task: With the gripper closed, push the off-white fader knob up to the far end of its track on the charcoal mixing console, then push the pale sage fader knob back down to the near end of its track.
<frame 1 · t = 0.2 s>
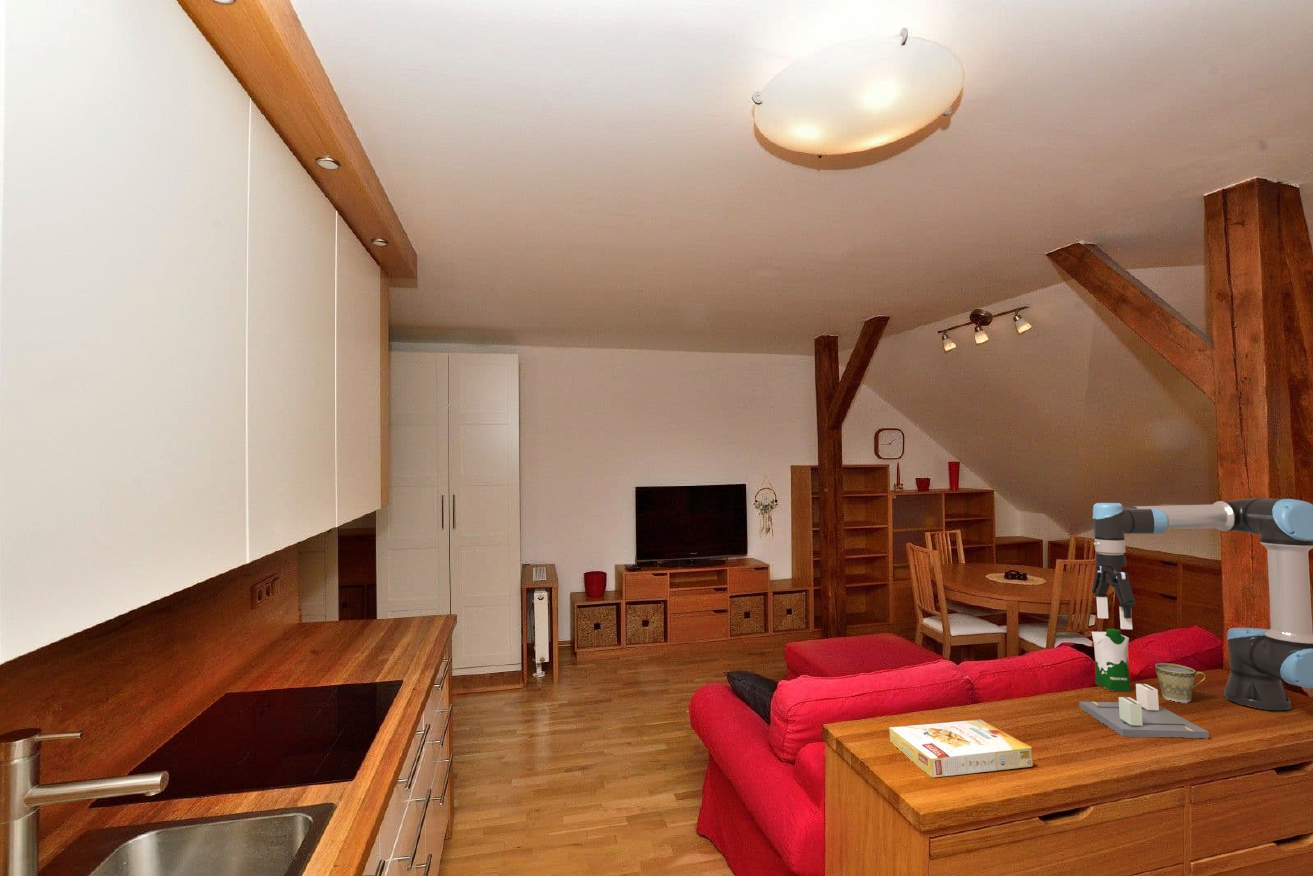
hand: (1114, 623, 188), 27 cm above the table, tool pointing down, fingers open, 13 cm apart
ceramic cup: (1182, 700, 197), on the table
cereal box: (958, 757, 161), on the table
console: (1140, 722, 180), on the table
milk carton: (1112, 688, 209), on the table
fader a: (1147, 696, 186), point 5 cm above the table, slide at -6.0 cm
fader b: (1130, 710, 175), point 5 cm above the table, slide at 6.0 cm
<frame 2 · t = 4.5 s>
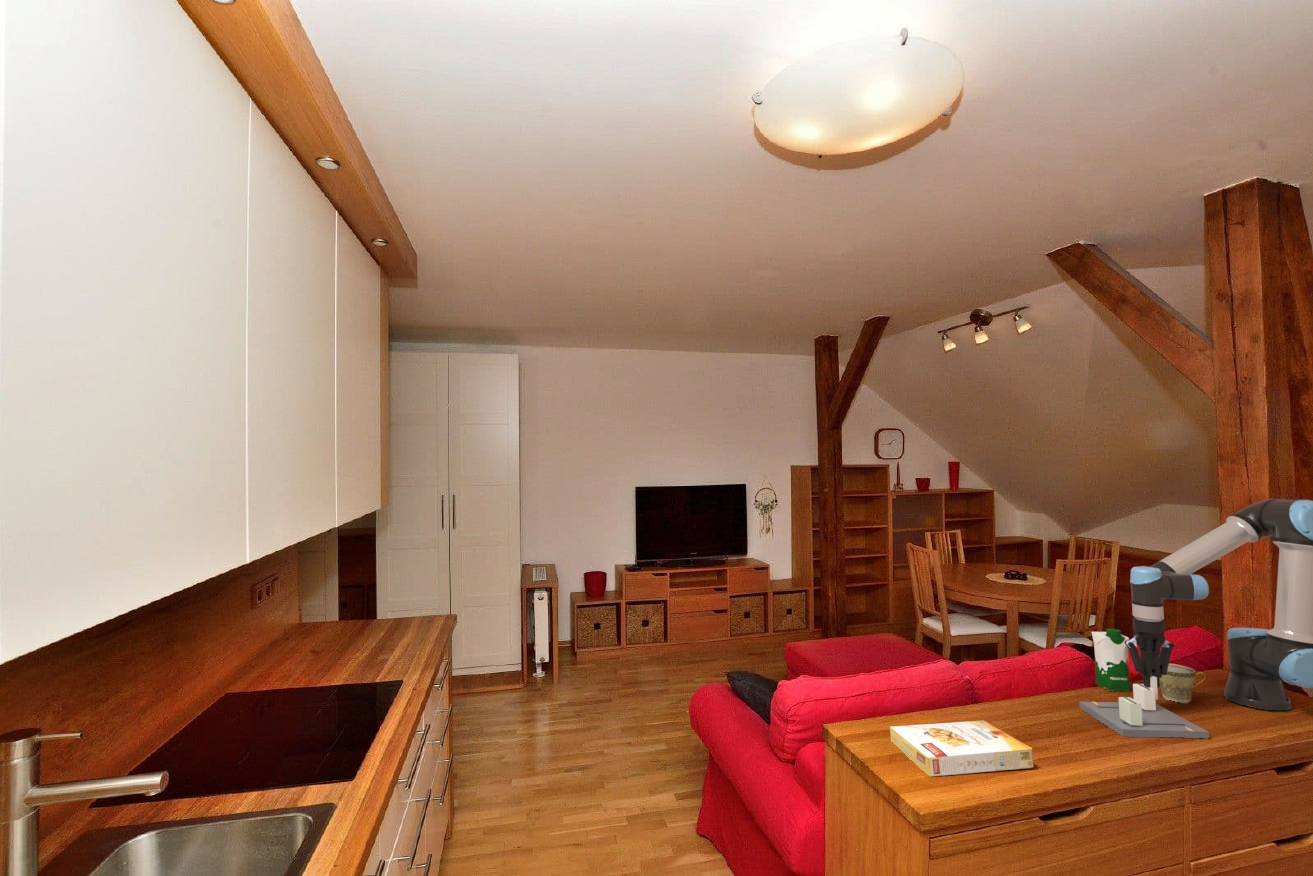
hand: (1152, 697, 186), 5 cm above the table, tool pointing down, fingers closed
fader a: (1144, 696, 186), point 5 cm above the table, slide at -5.2 cm, touching gripper
everything else where it was.
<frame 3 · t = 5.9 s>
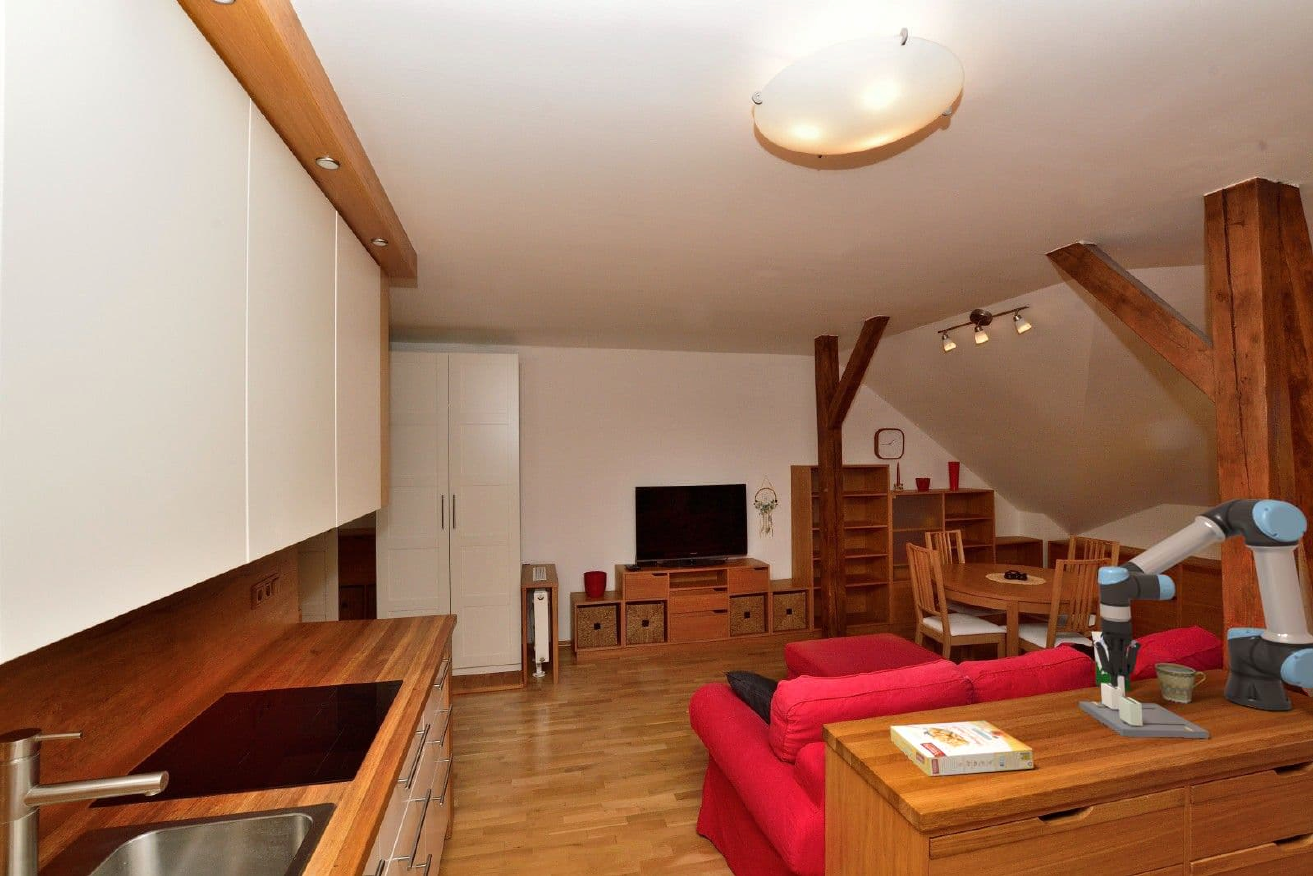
hand: (1119, 697, 187), 5 cm above the table, tool pointing down, fingers closed
fader a: (1111, 695, 187), point 5 cm above the table, slide at 4.0 cm, touching gripper
everything else where it was.
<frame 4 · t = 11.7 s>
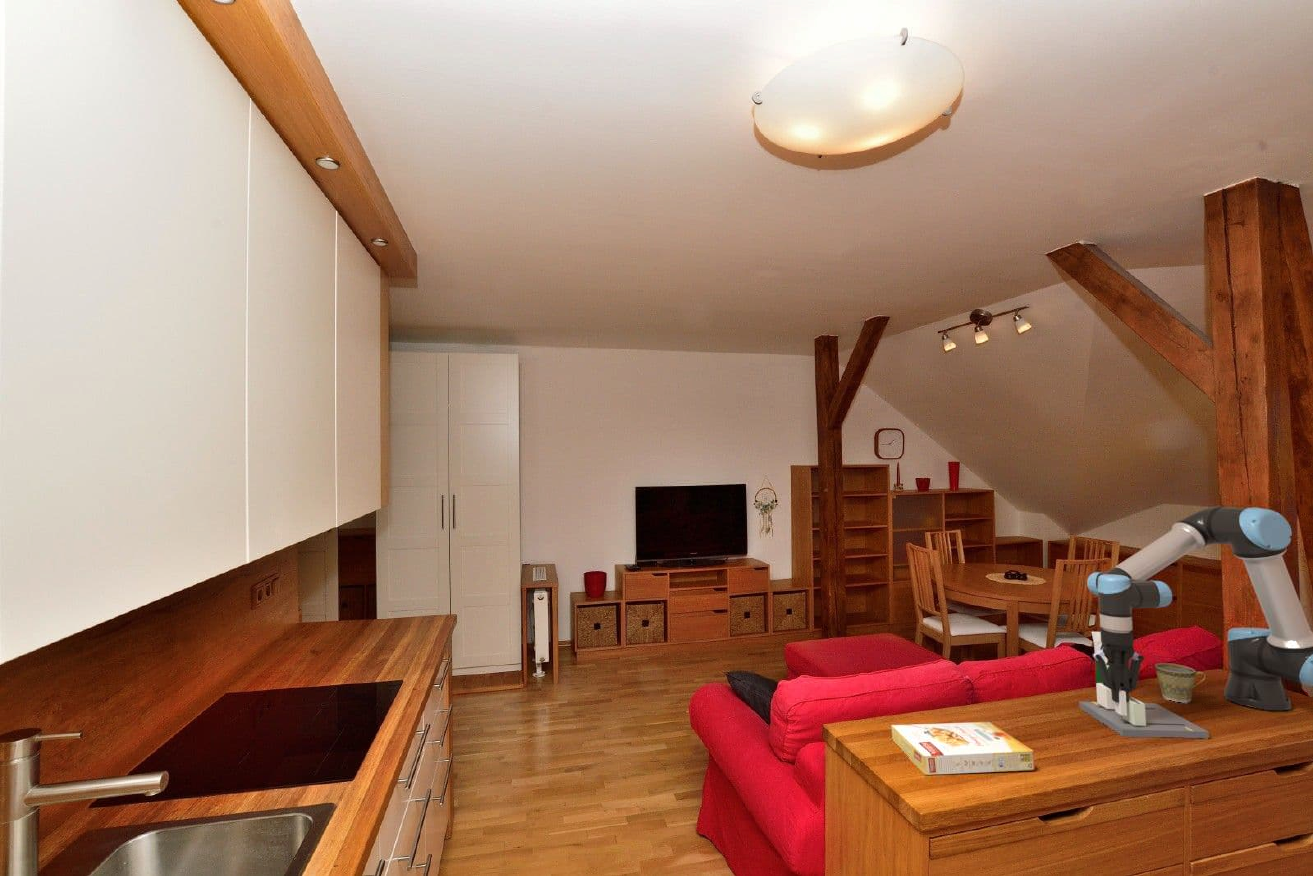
hand: (1121, 713, 176), 5 cm above the table, tool pointing down, fingers closed
fader a: (1106, 695, 187), point 5 cm above the table, slide at 5.3 cm
fader b: (1133, 711, 175), point 5 cm above the table, slide at 5.1 cm, touching gripper
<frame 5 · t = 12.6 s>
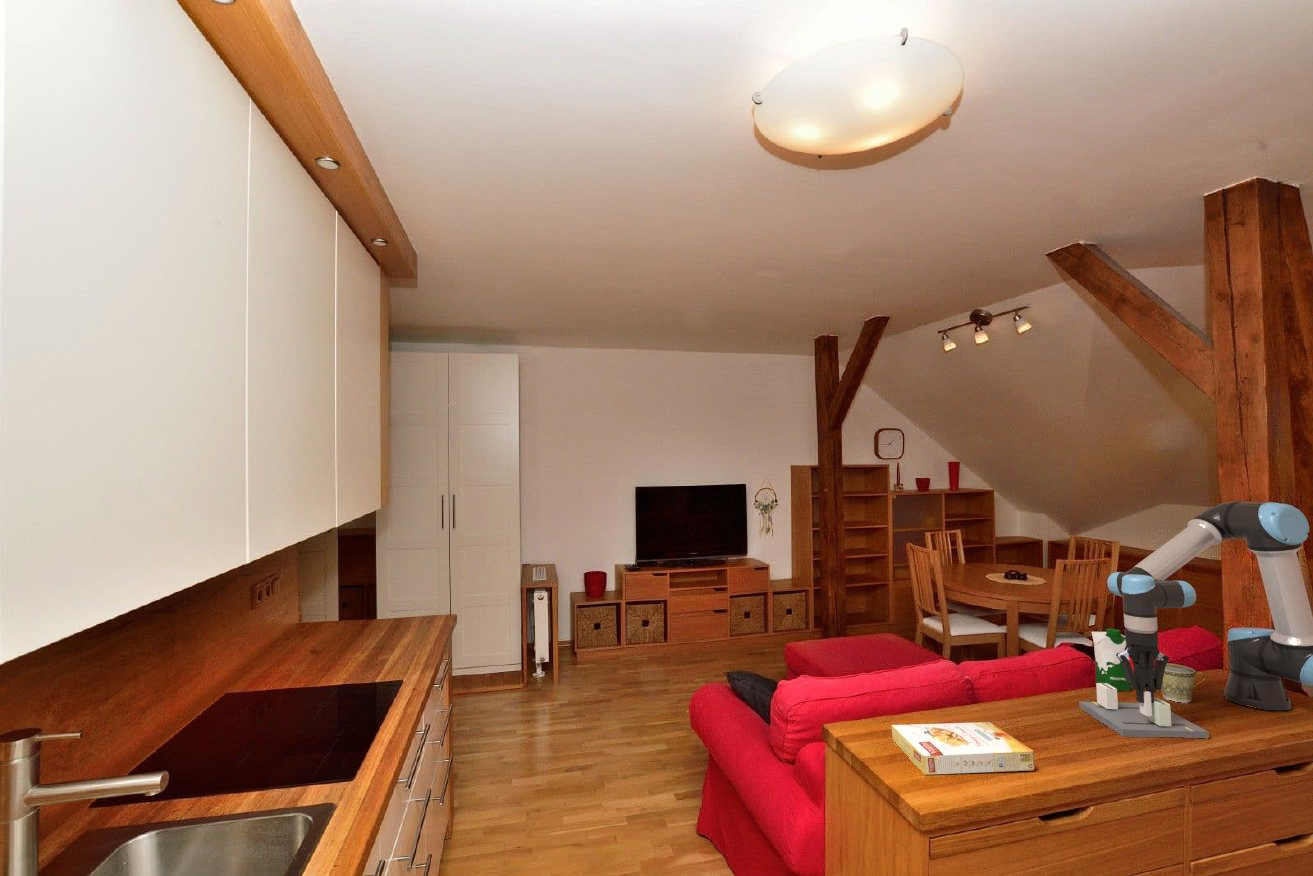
hand: (1146, 714, 175), 5 cm above the table, tool pointing down, fingers closed
fader b: (1158, 711, 174), point 5 cm above the table, slide at -1.5 cm, touching gripper
everything else where it was.
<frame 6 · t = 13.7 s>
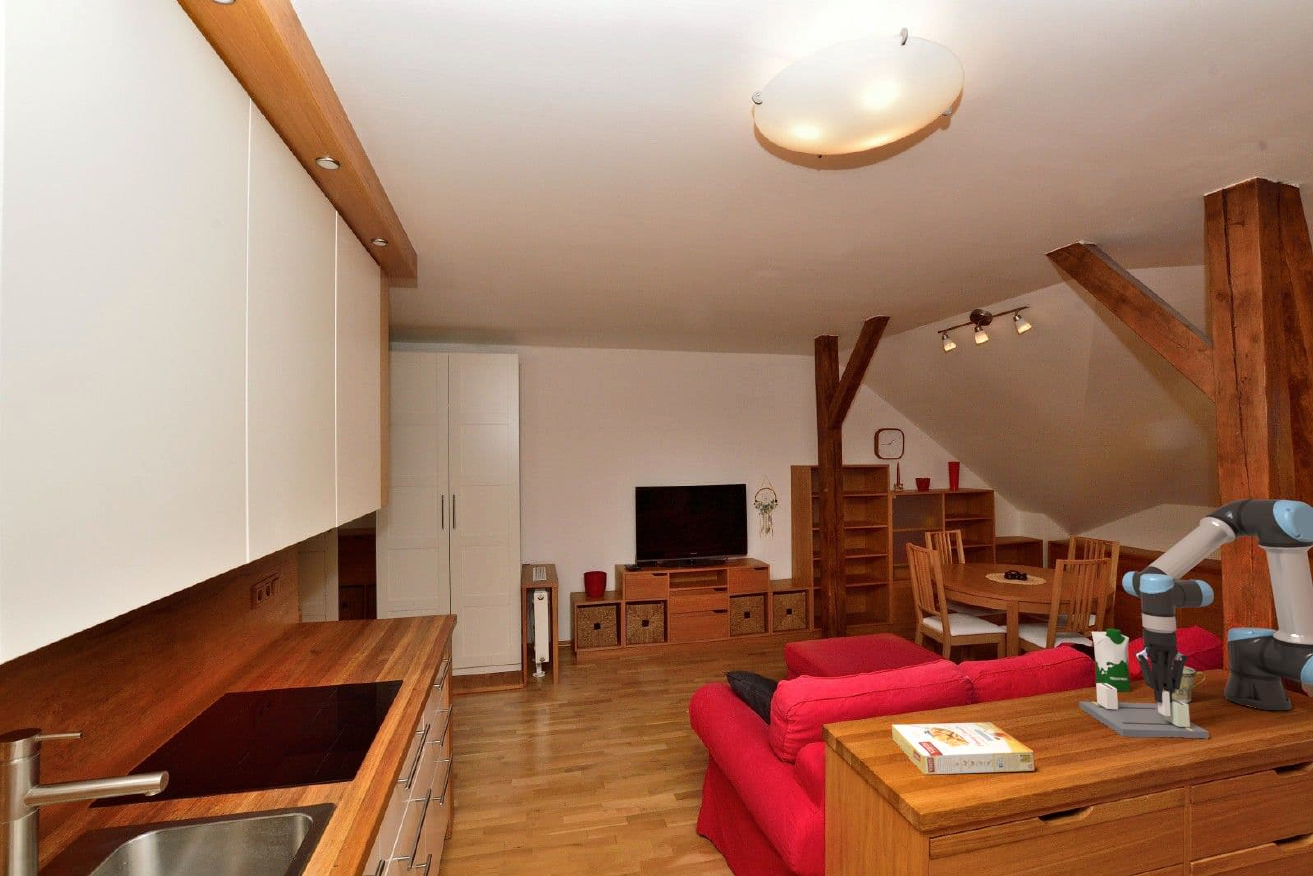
hand: (1164, 714, 174), 5 cm above the table, tool pointing down, fingers closed
fader b: (1176, 712, 174), point 5 cm above the table, slide at -6.2 cm, touching gripper
everything else where it was.
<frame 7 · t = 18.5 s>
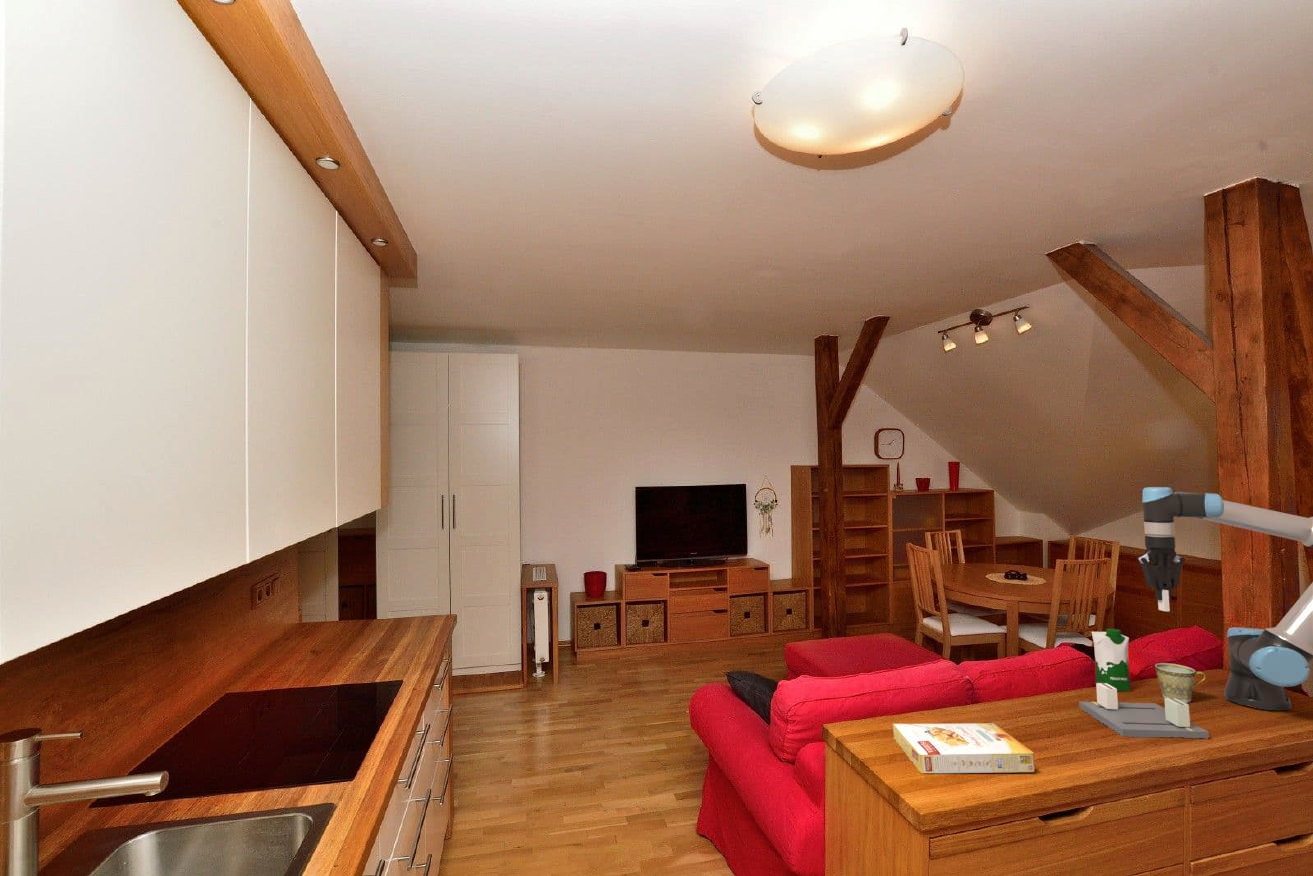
hand: (1164, 610, 195), 29 cm above the table, tool pointing down, fingers closed
fader b: (1177, 712, 174), point 5 cm above the table, slide at -6.3 cm
at the end: fader a slide at 5.3 cm; fader b slide at -6.3 cm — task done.
